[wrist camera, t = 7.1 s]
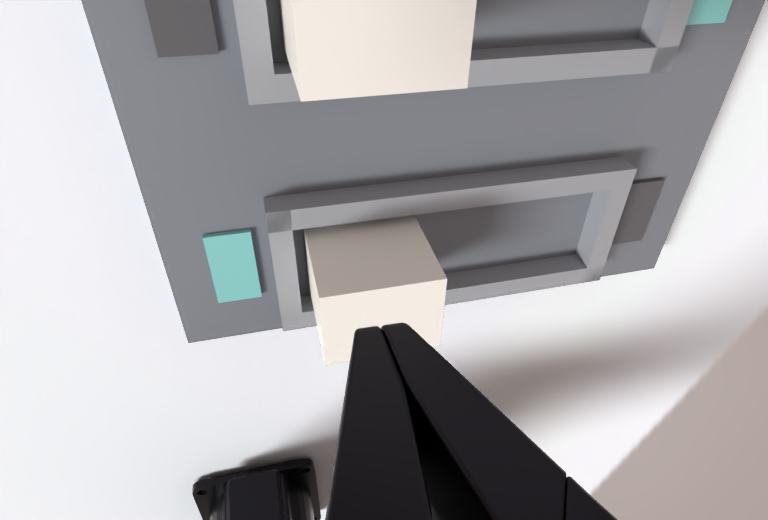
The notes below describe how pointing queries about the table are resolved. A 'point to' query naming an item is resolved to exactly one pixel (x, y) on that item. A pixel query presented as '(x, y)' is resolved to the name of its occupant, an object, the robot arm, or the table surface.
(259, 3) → the switch board
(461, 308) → the table surface
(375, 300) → the tab
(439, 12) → the tab
